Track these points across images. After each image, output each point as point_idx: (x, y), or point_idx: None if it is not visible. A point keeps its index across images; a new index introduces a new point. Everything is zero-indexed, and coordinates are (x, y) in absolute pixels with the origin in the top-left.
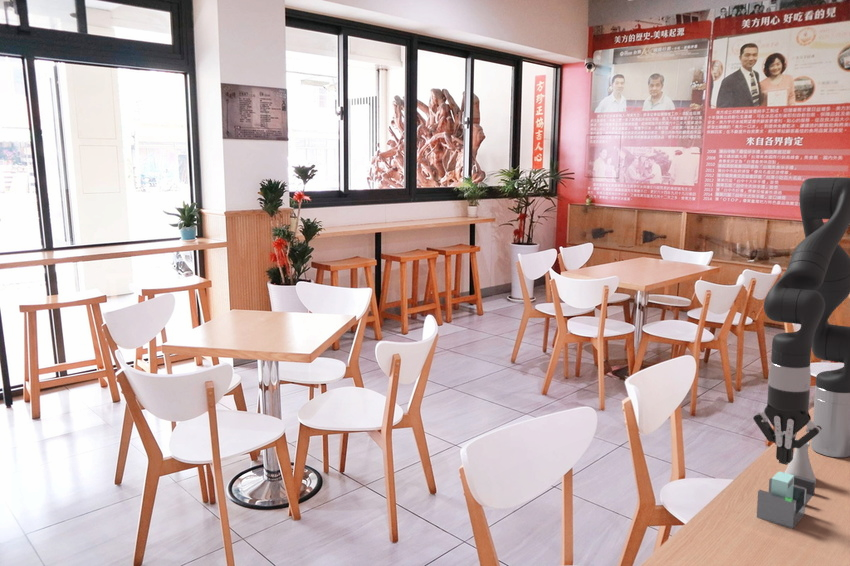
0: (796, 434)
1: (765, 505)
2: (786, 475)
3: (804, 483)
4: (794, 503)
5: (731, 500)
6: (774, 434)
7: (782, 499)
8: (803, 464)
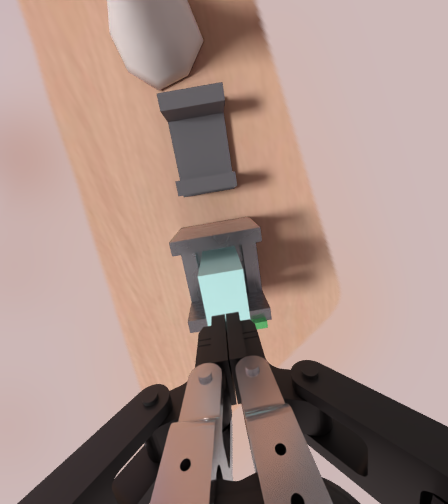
0: (288, 405)
1: None
2: (227, 286)
3: (202, 108)
4: (270, 316)
5: (123, 268)
6: (164, 435)
7: None
8: (160, 17)
